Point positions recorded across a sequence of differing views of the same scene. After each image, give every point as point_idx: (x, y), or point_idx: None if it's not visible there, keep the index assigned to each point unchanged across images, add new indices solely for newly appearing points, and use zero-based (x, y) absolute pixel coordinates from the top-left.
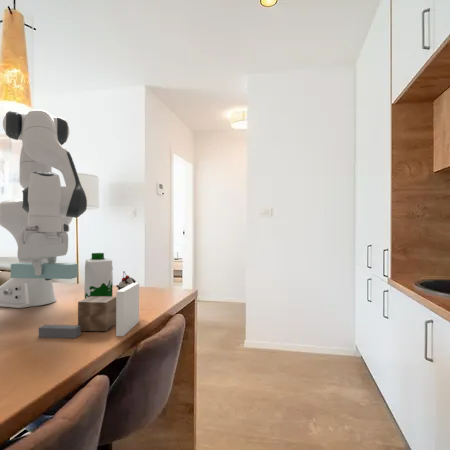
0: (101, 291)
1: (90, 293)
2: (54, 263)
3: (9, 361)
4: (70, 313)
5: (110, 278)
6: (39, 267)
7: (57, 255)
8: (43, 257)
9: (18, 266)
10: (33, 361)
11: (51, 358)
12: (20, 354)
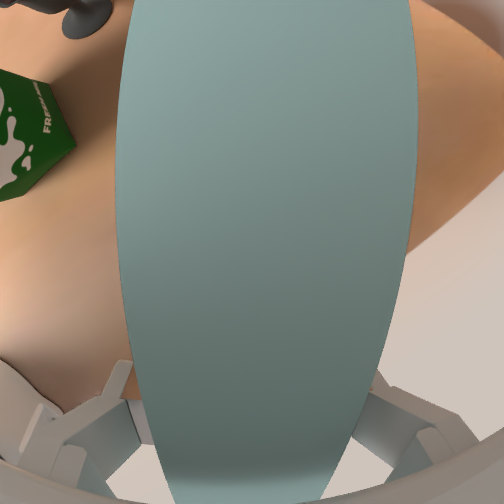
0: (12, 84)
1: (19, 138)
2: (195, 388)
3: (483, 180)
4: (52, 241)
5: None
6: (411, 399)
7: (14, 476)
8: (482, 454)
9: None
10: (482, 132)
11: (470, 100)
12: (459, 176)
